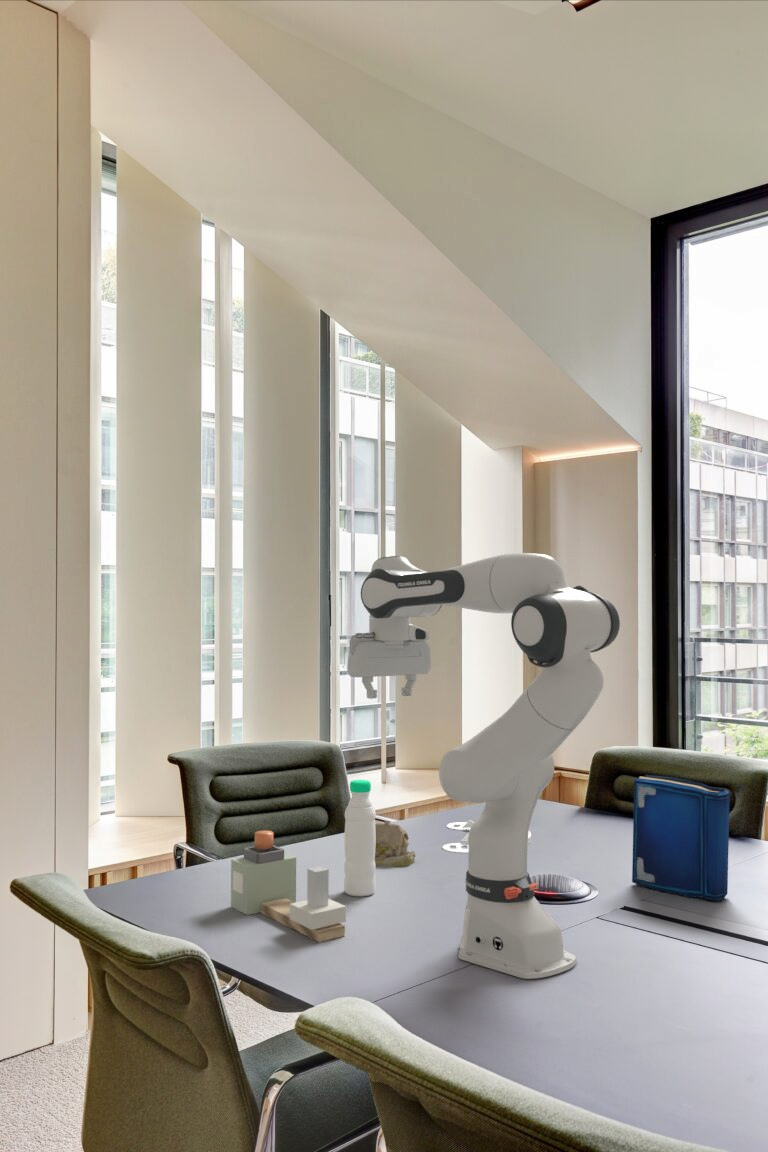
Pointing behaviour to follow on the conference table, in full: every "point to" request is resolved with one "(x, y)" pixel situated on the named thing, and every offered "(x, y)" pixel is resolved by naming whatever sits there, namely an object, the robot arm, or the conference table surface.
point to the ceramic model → (392, 845)
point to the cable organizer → (458, 845)
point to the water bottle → (360, 841)
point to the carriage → (317, 903)
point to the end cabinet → (262, 878)
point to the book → (681, 837)
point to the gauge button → (264, 839)
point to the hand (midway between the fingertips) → (389, 697)
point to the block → (281, 913)
